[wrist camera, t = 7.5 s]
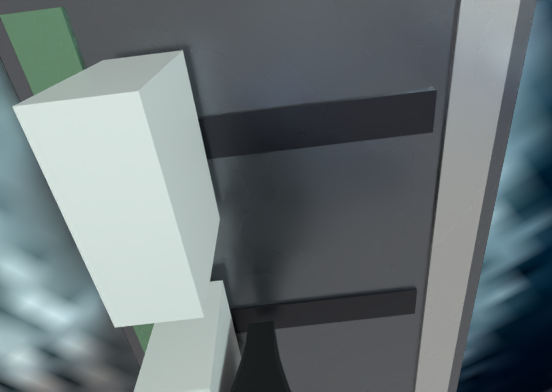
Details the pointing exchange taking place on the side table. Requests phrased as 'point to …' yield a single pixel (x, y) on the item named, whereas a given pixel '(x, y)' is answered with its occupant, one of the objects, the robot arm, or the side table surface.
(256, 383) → the robot arm
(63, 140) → the block
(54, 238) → the side table surface
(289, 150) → the breaker panel
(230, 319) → the block
